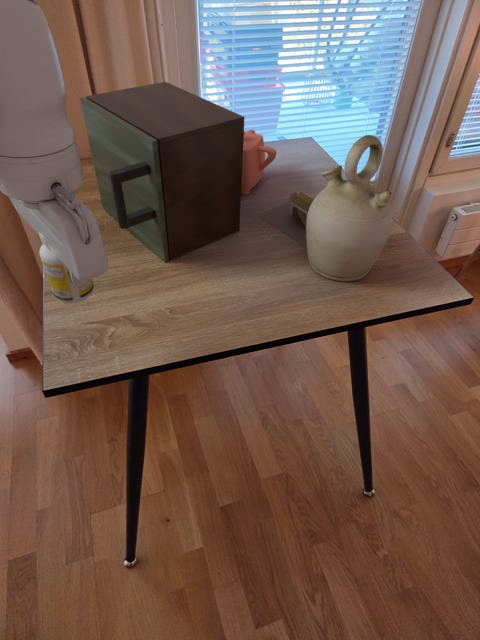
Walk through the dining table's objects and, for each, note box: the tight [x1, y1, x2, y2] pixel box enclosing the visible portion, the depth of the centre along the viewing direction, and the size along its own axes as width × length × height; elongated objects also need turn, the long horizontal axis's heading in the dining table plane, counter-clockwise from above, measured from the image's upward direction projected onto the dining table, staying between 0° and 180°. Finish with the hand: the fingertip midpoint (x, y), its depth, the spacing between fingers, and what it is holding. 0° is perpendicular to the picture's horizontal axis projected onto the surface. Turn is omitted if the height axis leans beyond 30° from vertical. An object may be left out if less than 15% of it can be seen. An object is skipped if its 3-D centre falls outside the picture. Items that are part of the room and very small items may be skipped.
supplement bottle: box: [38, 232, 95, 304], centre depth 54 cm, size 5×5×10 cm
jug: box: [306, 134, 393, 282], centre depth 75 cm, size 15×16×25 cm
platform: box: [256, 190, 315, 251], centre depth 92 cm, size 12×18×7 cm, turn 37°
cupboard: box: [85, 81, 245, 261], centre depth 85 cm, size 18×26×24 cm
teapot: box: [241, 129, 277, 196], centre depth 102 cm, size 17×16×13 cm
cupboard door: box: [79, 96, 170, 263], centre depth 79 cm, size 8×26×23 cm, turn 40°
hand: (67, 270), depth 55 cm, fingers closed on supplement bottle, 5 cm apart
